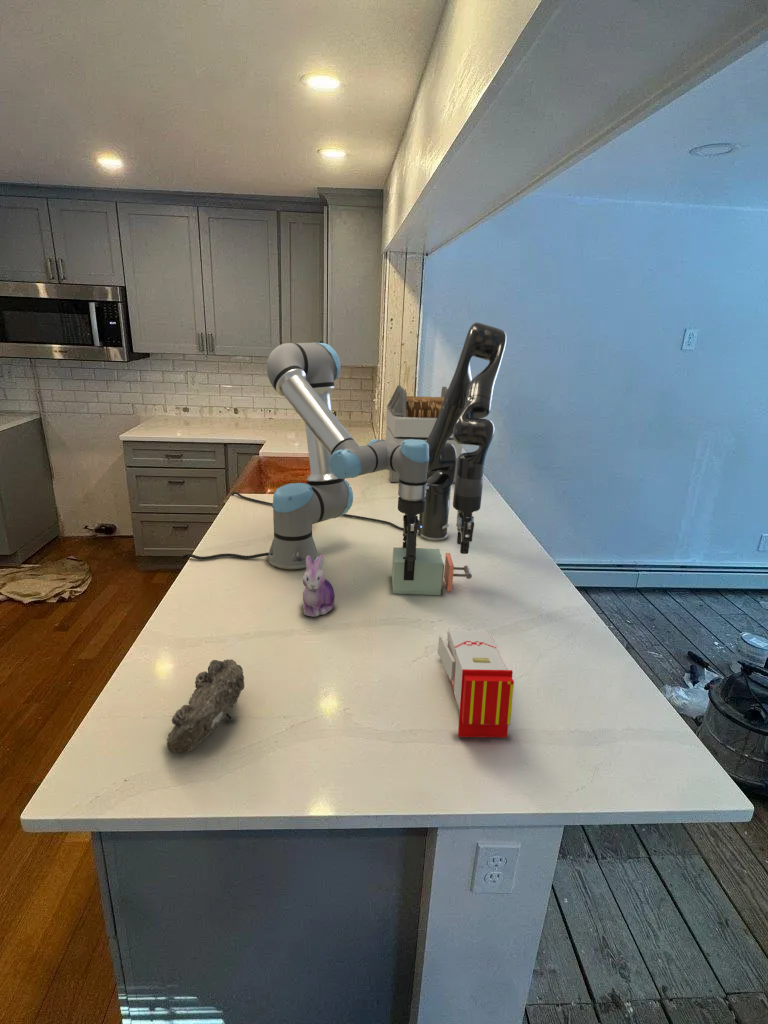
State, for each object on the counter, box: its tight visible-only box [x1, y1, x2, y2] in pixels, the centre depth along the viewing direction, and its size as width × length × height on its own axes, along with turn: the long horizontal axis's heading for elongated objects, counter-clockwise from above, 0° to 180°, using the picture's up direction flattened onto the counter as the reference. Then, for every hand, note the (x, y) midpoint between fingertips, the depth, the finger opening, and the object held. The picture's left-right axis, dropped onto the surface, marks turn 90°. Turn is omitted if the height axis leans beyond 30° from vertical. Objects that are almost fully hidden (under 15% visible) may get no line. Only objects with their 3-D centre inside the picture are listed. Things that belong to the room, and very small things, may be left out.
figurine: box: [302, 554, 336, 617], centre depth 145 cm, size 9×10×15 cm
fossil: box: [166, 658, 245, 754], centre depth 106 cm, size 22×10×15 cm
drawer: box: [441, 552, 473, 592], centre depth 161 cm, size 18×9×8 cm, turn 91°
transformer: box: [384, 384, 463, 484], centre depth 268 cm, size 34×33×41 cm
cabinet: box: [391, 546, 444, 596], centre depth 161 cm, size 13×10×10 cm
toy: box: [437, 628, 515, 738], centre depth 117 cm, size 12×13×30 cm
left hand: (407, 571), depth 161 cm, fingers closed on cabinet, 10 cm apart
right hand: (462, 548), depth 159 cm, fingers open, 6 cm apart
